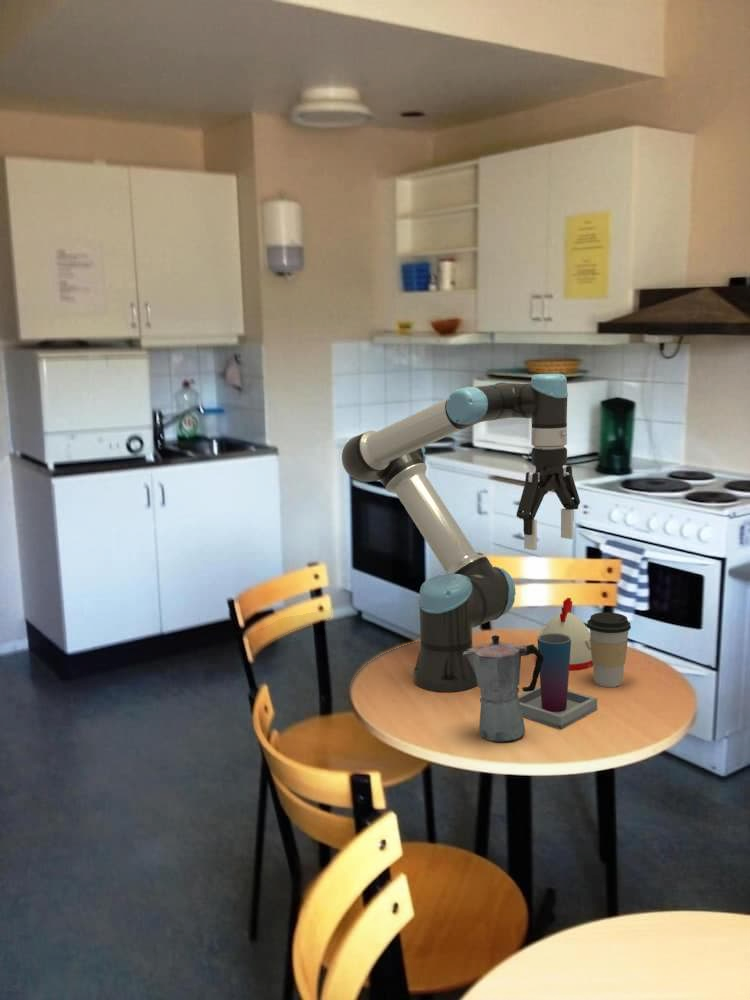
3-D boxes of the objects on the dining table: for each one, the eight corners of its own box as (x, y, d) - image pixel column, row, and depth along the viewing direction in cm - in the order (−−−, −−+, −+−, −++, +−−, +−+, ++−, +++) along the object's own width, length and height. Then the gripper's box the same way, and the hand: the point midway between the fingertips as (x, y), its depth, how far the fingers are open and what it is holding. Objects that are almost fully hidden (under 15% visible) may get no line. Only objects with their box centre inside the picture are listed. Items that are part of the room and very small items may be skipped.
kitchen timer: (601, 654, 226) (602, 594, 223) (588, 674, 214) (589, 610, 211) (545, 648, 232) (544, 589, 229) (529, 666, 219) (529, 605, 217)
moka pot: (462, 723, 189) (461, 628, 185) (539, 722, 188) (539, 627, 184) (465, 744, 179) (464, 644, 176) (546, 743, 179) (546, 642, 175)
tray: (508, 712, 194) (508, 700, 193) (545, 693, 203) (545, 683, 202) (561, 729, 184) (561, 717, 184) (597, 709, 193) (597, 698, 193)
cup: (544, 698, 198) (544, 630, 195) (575, 704, 194) (575, 635, 192) (532, 710, 192) (532, 640, 189) (564, 716, 189) (564, 645, 186)
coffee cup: (631, 691, 203) (633, 624, 200) (587, 689, 204) (587, 623, 202) (627, 675, 212) (629, 611, 209) (585, 673, 213) (585, 610, 211)
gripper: (528, 454, 189) (529, 556, 193) (596, 441, 206) (595, 535, 210) (499, 452, 194) (500, 551, 198) (567, 439, 211) (567, 531, 215)
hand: (549, 543), depth 204 cm, fingers open, 13 cm apart
